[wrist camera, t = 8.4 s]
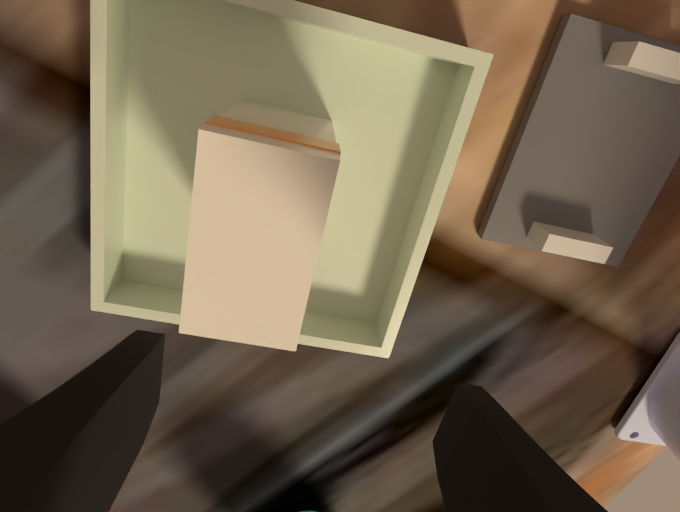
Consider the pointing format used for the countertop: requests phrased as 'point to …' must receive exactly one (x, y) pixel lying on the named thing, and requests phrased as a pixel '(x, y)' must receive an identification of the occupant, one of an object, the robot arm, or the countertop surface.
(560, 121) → the fuse holder
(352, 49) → the tray
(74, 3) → the countertop surface
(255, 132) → the block
